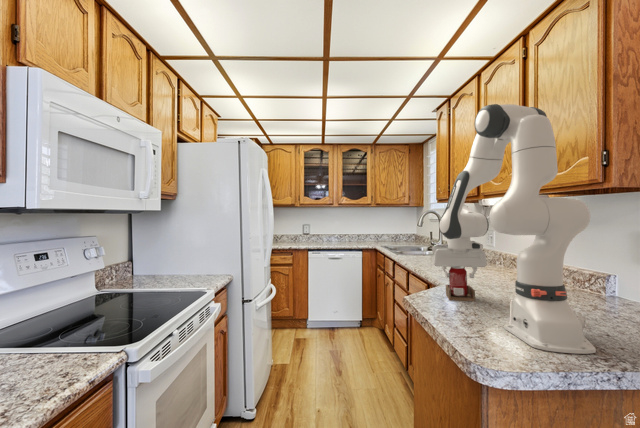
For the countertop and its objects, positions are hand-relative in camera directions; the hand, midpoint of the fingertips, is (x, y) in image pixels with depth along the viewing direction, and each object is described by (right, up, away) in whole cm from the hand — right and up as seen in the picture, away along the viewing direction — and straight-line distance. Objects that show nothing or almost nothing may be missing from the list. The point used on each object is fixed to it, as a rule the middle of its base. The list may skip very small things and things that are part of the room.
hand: (459, 277), depth 129 cm
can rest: (0, -8, 0) cm, 8 cm away
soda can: (0, -8, 0) cm, 8 cm away
